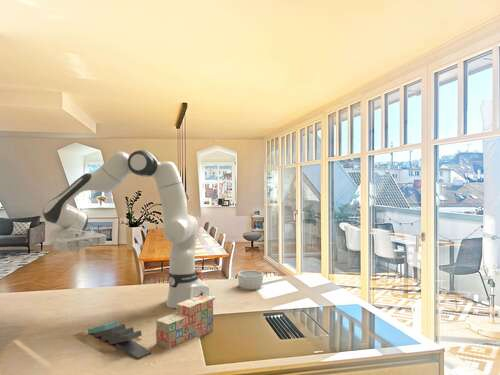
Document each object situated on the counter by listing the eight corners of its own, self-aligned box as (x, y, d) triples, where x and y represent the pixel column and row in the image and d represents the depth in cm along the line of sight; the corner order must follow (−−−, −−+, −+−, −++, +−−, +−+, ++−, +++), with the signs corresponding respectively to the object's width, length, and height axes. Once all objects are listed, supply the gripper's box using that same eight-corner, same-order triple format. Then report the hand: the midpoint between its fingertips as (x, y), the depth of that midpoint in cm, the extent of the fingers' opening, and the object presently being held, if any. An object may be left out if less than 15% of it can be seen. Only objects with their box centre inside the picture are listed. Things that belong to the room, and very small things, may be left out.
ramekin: (254, 292, 189) (254, 278, 189) (232, 287, 196) (232, 274, 196) (268, 285, 200) (268, 272, 200) (246, 281, 207) (246, 268, 207)
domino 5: (129, 338, 130) (151, 351, 122) (129, 342, 130) (151, 356, 122) (115, 343, 126) (137, 357, 118) (115, 348, 126) (137, 362, 118)
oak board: (107, 326, 147) (107, 323, 147) (142, 342, 133) (142, 339, 133) (70, 338, 136) (70, 335, 136) (104, 357, 122) (104, 354, 122)
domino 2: (107, 328, 138) (124, 324, 131) (108, 332, 138) (125, 328, 131) (93, 332, 135) (111, 328, 127) (94, 337, 134) (112, 333, 127)
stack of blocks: (168, 352, 125) (168, 315, 125) (155, 347, 129) (155, 310, 129) (213, 331, 142) (213, 297, 142) (201, 327, 146) (200, 294, 146)
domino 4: (121, 334, 133) (140, 330, 125) (122, 339, 132) (141, 335, 125) (108, 339, 129) (127, 335, 121) (109, 344, 128) (128, 340, 121)
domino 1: (100, 325, 141) (117, 320, 134) (101, 329, 141) (118, 325, 134) (87, 329, 137) (104, 325, 130) (88, 334, 137) (105, 330, 130)
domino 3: (114, 331, 135) (132, 327, 128) (115, 336, 135) (133, 332, 128) (101, 336, 132) (119, 331, 124) (102, 341, 131) (120, 337, 124)
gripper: (47, 235, 154) (63, 239, 145) (95, 229, 170) (113, 232, 161) (47, 251, 154) (63, 256, 145) (95, 244, 170) (113, 248, 161)
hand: (90, 243), depth 153 cm, fingers closed
